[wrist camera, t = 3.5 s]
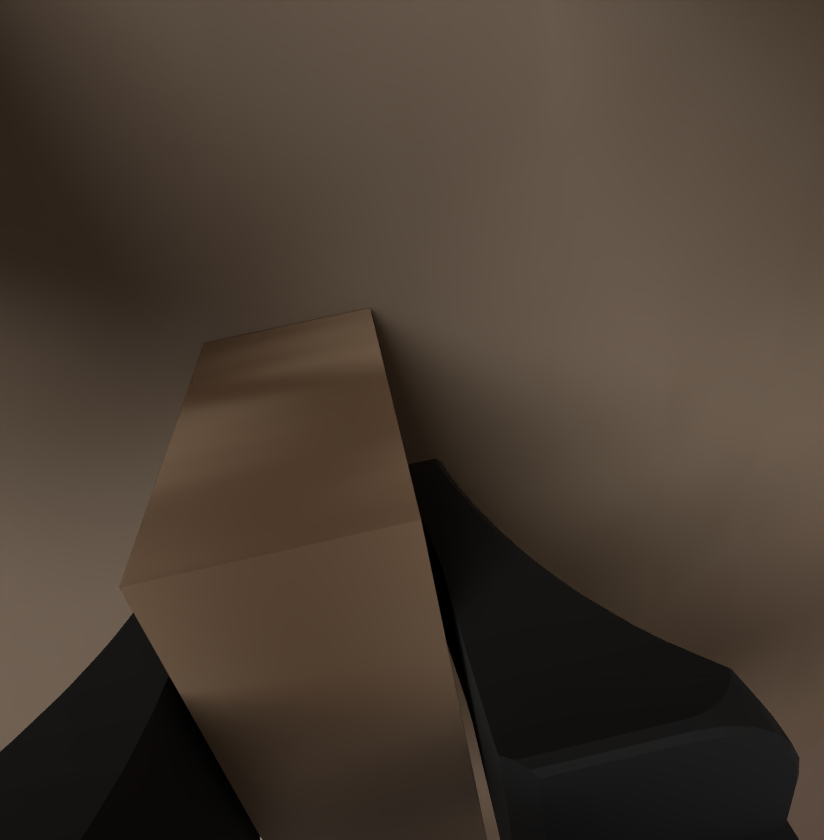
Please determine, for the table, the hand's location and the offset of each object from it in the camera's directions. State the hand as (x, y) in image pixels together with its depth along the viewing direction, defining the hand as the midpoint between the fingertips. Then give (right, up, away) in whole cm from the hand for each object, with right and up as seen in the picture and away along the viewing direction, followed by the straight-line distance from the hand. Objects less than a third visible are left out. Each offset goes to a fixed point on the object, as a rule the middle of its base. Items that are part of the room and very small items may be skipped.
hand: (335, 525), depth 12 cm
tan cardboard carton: (0, +1, +1) cm, 1 cm away
